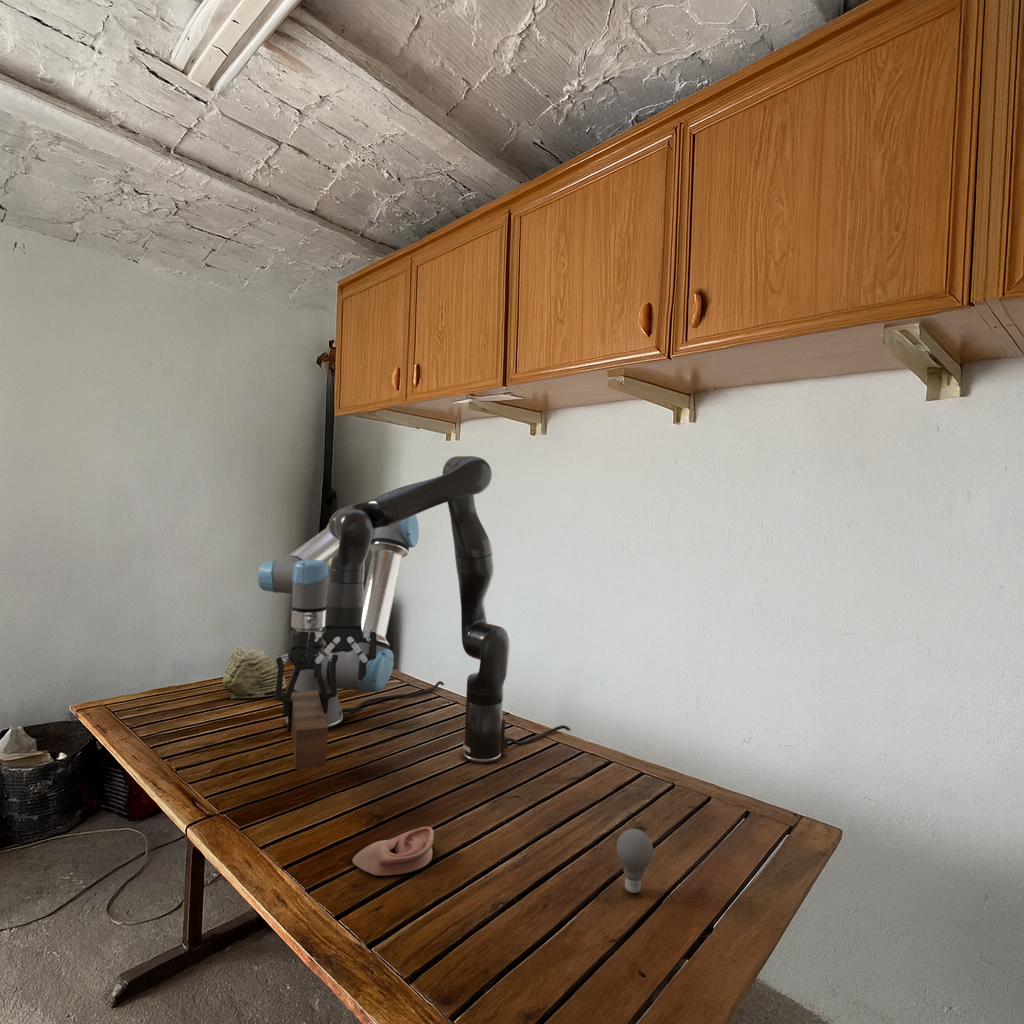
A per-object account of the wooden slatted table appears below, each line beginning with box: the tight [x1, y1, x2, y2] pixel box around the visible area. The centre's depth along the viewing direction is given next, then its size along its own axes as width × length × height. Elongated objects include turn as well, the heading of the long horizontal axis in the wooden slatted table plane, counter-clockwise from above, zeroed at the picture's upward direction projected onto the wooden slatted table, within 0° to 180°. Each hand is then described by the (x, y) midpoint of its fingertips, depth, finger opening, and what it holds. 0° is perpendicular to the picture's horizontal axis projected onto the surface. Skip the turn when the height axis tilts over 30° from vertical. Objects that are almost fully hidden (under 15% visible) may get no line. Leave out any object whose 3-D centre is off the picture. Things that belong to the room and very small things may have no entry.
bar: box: [290, 691, 329, 770], centre depth 137 cm, size 25×6×8 cm, turn 21°
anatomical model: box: [351, 826, 435, 877], centre depth 112 cm, size 13×4×12 cm
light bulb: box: [615, 828, 654, 894], centre depth 106 cm, size 6×6×10 cm
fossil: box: [222, 646, 288, 699], centre depth 198 cm, size 9×18×15 cm, turn 132°
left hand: (304, 728), depth 145 cm, fingers closed on bar, 6 cm apart
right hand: (339, 680), depth 133 cm, fingers open, 8 cm apart
